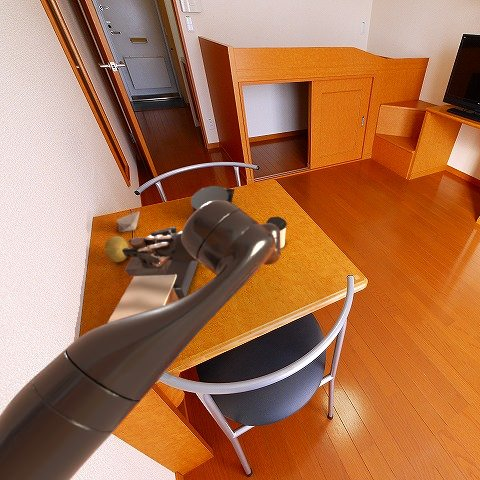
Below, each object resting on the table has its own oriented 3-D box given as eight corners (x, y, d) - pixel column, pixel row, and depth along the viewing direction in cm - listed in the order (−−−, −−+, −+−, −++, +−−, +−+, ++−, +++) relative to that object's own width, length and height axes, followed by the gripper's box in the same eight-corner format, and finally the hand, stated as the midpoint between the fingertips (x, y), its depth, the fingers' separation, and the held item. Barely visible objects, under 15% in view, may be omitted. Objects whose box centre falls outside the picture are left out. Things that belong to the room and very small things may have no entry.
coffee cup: (291, 241, 96) (290, 217, 90) (282, 253, 91) (280, 229, 85) (274, 235, 98) (271, 212, 91) (263, 247, 93) (260, 224, 86)
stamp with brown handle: (165, 274, 71) (152, 247, 65) (128, 276, 70) (111, 248, 64) (171, 260, 75) (159, 233, 69) (136, 262, 74) (121, 235, 68)
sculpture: (121, 250, 90) (110, 231, 85) (134, 249, 90) (124, 230, 85) (110, 268, 84) (97, 248, 79) (124, 267, 84) (112, 247, 79)
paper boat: (104, 231, 95) (114, 211, 100) (123, 240, 99) (132, 220, 105) (124, 220, 90) (133, 199, 95) (143, 229, 94) (151, 209, 100)
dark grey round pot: (190, 227, 102) (184, 211, 96) (201, 198, 114) (196, 183, 109) (230, 227, 103) (227, 211, 98) (236, 198, 116) (234, 183, 111)
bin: (185, 297, 76) (182, 289, 74) (131, 299, 75) (126, 292, 73) (200, 254, 89) (198, 247, 87) (155, 256, 88) (151, 248, 86)
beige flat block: (156, 358, 63) (146, 345, 59) (105, 361, 62) (92, 348, 58) (182, 288, 79) (176, 274, 75) (142, 290, 78) (134, 276, 74)
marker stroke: (177, 284, 78) (177, 285, 79) (163, 281, 77) (163, 281, 78) (175, 288, 78) (175, 288, 78) (162, 284, 77) (162, 285, 77)
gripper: (203, 217, 72) (133, 218, 70) (187, 253, 61) (105, 256, 60) (209, 239, 76) (144, 240, 75) (196, 276, 66) (120, 279, 64)
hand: (127, 247), depth 67 cm, fingers closed on stamp with brown handle, 3 cm apart
